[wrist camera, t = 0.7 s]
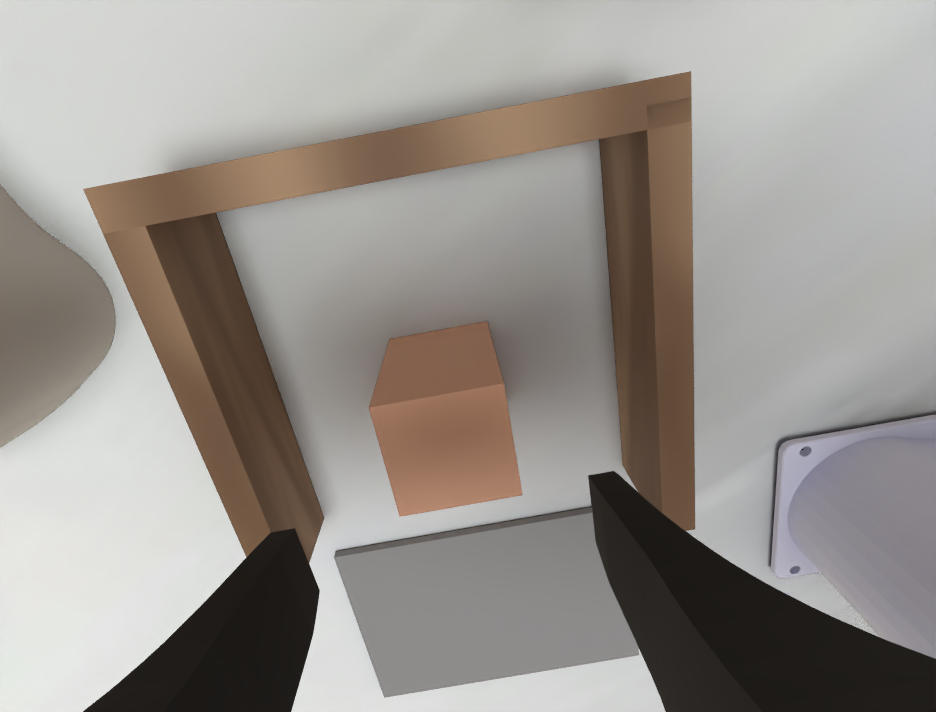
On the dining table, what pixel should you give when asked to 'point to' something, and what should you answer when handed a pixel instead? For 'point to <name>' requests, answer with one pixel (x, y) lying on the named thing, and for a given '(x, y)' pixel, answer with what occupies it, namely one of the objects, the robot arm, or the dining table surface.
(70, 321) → the lumpy-topped squat cylinder
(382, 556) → the rubber mat
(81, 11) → the dining table surface
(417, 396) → the terracotta block
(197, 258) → the open wooden frame
